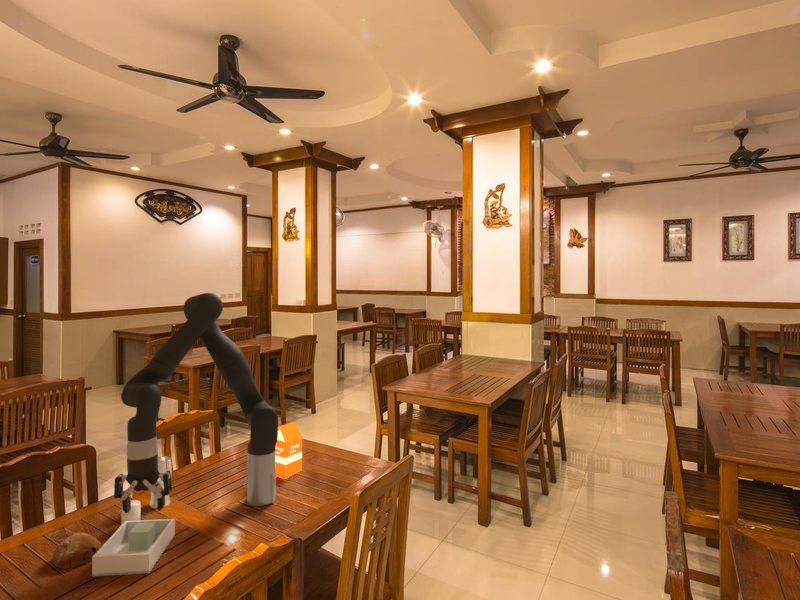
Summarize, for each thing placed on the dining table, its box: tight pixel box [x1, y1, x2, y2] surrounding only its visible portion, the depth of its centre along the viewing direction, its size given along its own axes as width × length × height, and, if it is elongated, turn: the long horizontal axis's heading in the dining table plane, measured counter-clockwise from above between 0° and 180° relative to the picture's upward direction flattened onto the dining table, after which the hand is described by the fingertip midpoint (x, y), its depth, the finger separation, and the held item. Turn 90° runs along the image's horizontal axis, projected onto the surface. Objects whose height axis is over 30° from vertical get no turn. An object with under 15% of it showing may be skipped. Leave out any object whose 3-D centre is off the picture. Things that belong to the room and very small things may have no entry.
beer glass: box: [149, 455, 173, 509], centre depth 152 cm, size 7×7×15 cm
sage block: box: [129, 522, 156, 551], centre depth 127 cm, size 5×5×5 cm
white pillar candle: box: [120, 499, 142, 526], centre depth 138 cm, size 5×5×7 cm
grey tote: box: [91, 518, 176, 577], centre depth 124 cm, size 14×18×5 cm
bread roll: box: [52, 532, 102, 569], centre depth 122 cm, size 10×10×8 cm
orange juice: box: [275, 421, 303, 480], centre depth 177 cm, size 8×9×20 cm
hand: (144, 510), depth 127 cm, fingers open, 8 cm apart
